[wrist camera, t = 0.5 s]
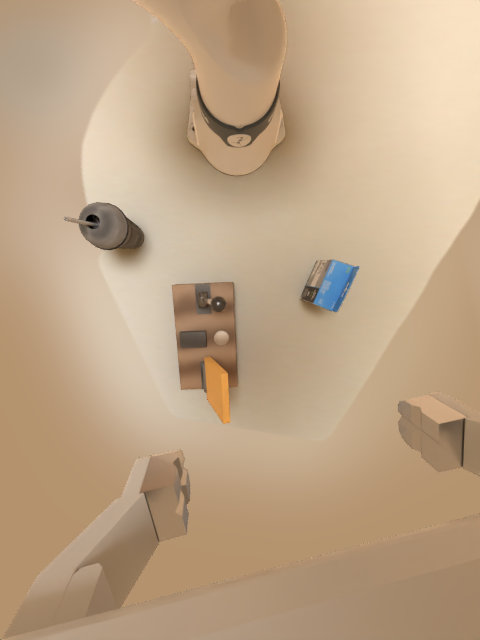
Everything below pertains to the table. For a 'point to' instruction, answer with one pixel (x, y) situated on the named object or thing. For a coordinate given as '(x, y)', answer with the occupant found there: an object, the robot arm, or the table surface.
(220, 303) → the steel toggle lever
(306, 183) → the table surface
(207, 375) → the orange paddle
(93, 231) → the beverage cup
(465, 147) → the table surface
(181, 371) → the control panel
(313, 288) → the label tape box
